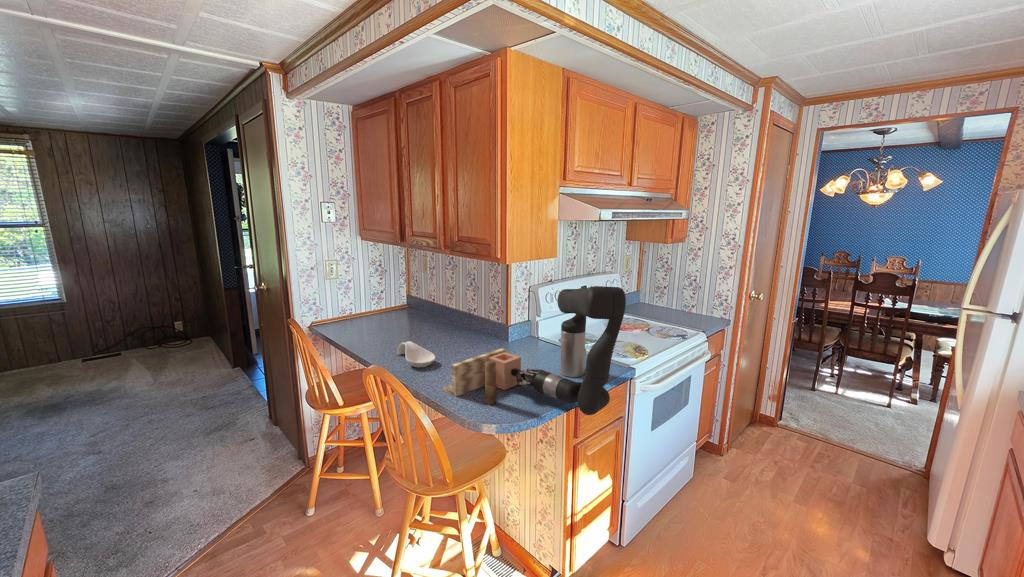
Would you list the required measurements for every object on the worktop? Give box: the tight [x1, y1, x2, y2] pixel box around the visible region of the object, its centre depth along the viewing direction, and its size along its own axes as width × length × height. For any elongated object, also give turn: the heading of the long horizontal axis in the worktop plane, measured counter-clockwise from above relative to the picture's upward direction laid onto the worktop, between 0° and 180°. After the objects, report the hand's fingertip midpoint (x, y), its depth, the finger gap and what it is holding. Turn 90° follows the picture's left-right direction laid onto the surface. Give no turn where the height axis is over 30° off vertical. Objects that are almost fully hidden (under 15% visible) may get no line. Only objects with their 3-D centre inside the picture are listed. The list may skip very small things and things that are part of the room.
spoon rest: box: [396, 340, 436, 369], centre depth 181 cm, size 24×12×7 cm, turn 41°
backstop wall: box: [442, 347, 506, 397], centre depth 157 cm, size 24×7×11 cm, turn 136°
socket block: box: [488, 351, 522, 391], centre depth 157 cm, size 8×8×10 cm
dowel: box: [484, 361, 497, 406], centre depth 142 cm, size 4×4×14 cm
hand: (512, 371), depth 154 cm, fingers closed
